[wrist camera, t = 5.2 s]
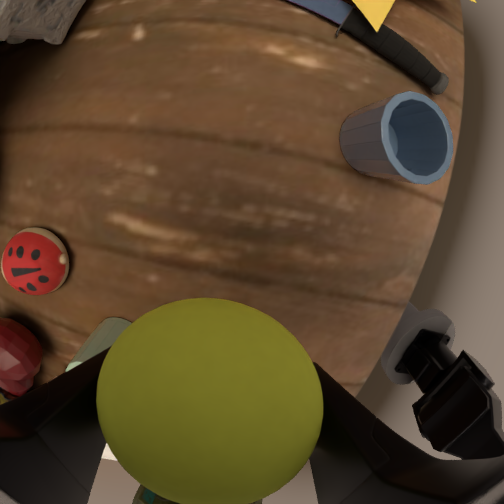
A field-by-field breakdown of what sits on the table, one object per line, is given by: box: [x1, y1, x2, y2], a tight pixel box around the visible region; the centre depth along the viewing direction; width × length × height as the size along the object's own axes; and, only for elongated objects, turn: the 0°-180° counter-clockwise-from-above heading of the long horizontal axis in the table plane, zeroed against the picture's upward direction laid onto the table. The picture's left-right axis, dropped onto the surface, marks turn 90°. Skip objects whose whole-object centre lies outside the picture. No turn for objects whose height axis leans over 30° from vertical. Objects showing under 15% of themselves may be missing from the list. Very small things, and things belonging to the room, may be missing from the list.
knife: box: [287, 0, 448, 95], centre depth 14 cm, size 24×2×5 cm
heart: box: [0, 318, 42, 396], centre depth 20 cm, size 12×8×10 cm
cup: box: [66, 317, 132, 372], centre depth 21 cm, size 6×6×7 cm
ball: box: [96, 298, 323, 504], centre depth 7 cm, size 6×6×6 cm
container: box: [340, 91, 453, 184], centre depth 15 cm, size 5×5×7 cm
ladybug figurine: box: [1, 227, 69, 295], centre depth 19 cm, size 7×10×4 cm
